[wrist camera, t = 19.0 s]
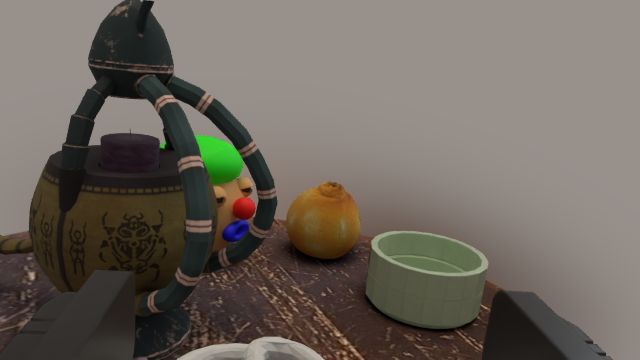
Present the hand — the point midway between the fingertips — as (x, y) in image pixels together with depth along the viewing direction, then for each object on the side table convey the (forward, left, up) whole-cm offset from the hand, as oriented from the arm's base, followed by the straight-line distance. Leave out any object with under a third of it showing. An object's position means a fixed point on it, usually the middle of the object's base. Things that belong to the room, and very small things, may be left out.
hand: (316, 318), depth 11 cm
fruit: (+14, -40, -16) cm, 45 cm away
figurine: (+23, -32, -16) cm, 43 cm away
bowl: (+2, -34, -15) cm, 38 cm away
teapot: (+24, -17, -16) cm, 33 cm away
